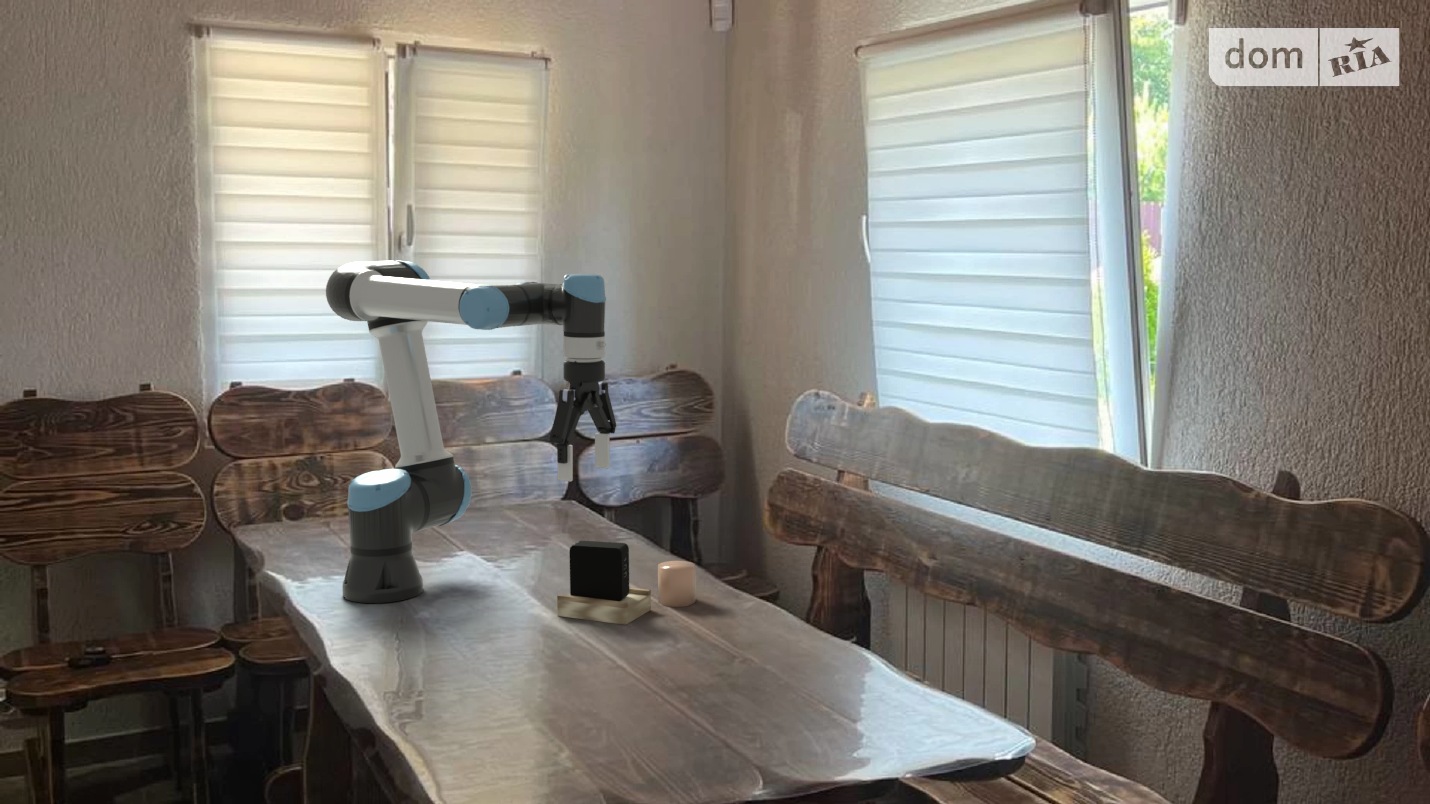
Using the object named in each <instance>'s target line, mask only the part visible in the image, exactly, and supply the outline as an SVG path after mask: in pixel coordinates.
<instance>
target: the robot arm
mask: <svg viewBox="0 0 1430 804" xmlns="http://www.w3.org/2000/svg"><path fill="white" fill-rule="evenodd" d="M562 282H563V283H561V284H560V283H559V284H557V283H543V282H538V281H525V282H518V283H516V284H509V285H508V284H507V285H506V284H505V285H502V284H501V285H497V284H496V285H493V284H492V285H491V284H478V283H477V284H476V283H464V282H456V281H455V282H453V281H444V280H443V281H441V280H431V278H430V276H429V274H428V272H427V271H426V270H425V269H423V267H421V266H420V265H419V264H417V263H415V262H412V261H407V260H406V261H405V260H399V259H398V260H397V259H393V260H377V261H372V260H371V261H353V262H348V263H345V264H343V265H341V266H340V267H337V268H336V269H335V270H334V271H333V272H332V273H331V275H330V276H329V278H328V280H327V283H326V285H325V286H326V287H325V297H326V301H327V303H328V306H329V307H330V309H331V310H332V312H334V313H335V315H337V316H339V317H340V318H342V319H344V320H348V321H350V322H351V321H352V322H367V327H368V332H369V334H371V335H373V336H374V337H375V338H377V340H378V343H379V348H380V353H381V359H382V364H383V369H384V375H385V379H386V384H387V390H388V396H389V400H390V401H389V402H390V405H391V410H392V416H393V420H394V426H395V431H396V436H397V437H396V438H397V442H398V448H399V453H400V458H399V460H398V461H397V463H395V466H394V468H383V469H381V470H371V471H368V472H365V473H362V474H359V475H358V476H356V477H354V478H353V479H352V480H351V481H350V483H349V484H348V491H347V492H348V496H347V500H346V502H347V503H346V504H347V509H348V527H349V529H348V530H349V545H350V548H349V549H350V555H349V560H348V565H347V567H346V572H345V575H344V580H343V582H342V587H341V588H342V596H344V597H345V598H344V597H343V598H344V599H346V600H348V601H350V600H351V602H355V603H360V604H361V603H363V604H381V603H382V604H383V603H392V602H393V603H394V602H400V601H404V600H408V599H412V598H414V597H417V596H419V595H420V594H422V593H423V591H424V582H423V581H424V579H423V576H422V575H421V573H420V570H419V567H418V564H417V561H416V558H415V555H414V552H413V533H416V532H420V531H423V530H428V529H431V528H435V527H439V526H440V527H441V526H445V525H448V524H450V523H451V522H454V521H457V520H459V519H460V518H462V516H463V515H464V514H465V513H466V511H467V509H468V508H469V506H470V504H471V501H472V499H471V498H472V493H473V492H472V491H473V490H472V484H471V480H470V477H469V474H467V472H465V471H464V469H463V468H462V467H461V466H460V465H458V464H456V463H455V460H454V454H452V453H451V452H449V451H448V450H447V449H446V448H445V447H444V442H443V436H442V431H441V427H440V420H439V416H438V411H437V406H436V399H435V396H434V395H435V394H434V389H433V385H432V380H431V375H430V374H431V373H430V368H429V363H428V358H427V353H426V348H425V344H424V337H423V330H424V329H425V327H426V326H427V325H428V322H432V323H433V322H434V323H441V324H442V323H444V324H452V325H453V324H454V325H461V326H462V325H464V326H468V327H469V328H471V329H473V330H482V331H485V330H486V331H487V330H488V331H490V330H491V331H492V330H495V329H501V328H509V327H520V326H521V327H522V326H523V327H525V326H533V325H535V326H536V325H553V326H554V325H558V326H563V327H562V328H563V330H562V332H563V346H562V347H563V350H562V352H563V355H562V357H564V358H565V359H566V360H564V361H563V380H564V382H568V383H569V389H564V388H561V389H559V392H558V404H557V407H556V411H555V415H554V420H553V424H552V428H551V433H550V436H549V442H550V444H552V445H555V446H556V447H557V448H556V449H557V450H556V452H557V453H556V454H557V469H556V470H557V481H562V482H572V481H574V479H573V475H574V473H573V471H574V470H573V469H574V467H573V466H574V464H573V463H574V460H573V459H574V458H573V455H574V452H573V450H574V449H573V445H572V444H571V442H572V440H573V436H574V433H575V431H576V429H577V426H578V423H579V420H580V418H581V416H583V415H584V414H585V412H587V411H588V414H589V416H590V418H591V420H592V422H593V424H594V426H595V428H596V430H597V432H595V433H594V467H595V468H598V469H610V434H616V428H617V421H616V417H615V413H614V410H613V405H612V402H611V398H610V394H609V383H608V382H607V381H605V378H606V363H605V362H604V360H603V358H605V350H606V345H607V344H606V341H605V340H606V339H605V336H606V334H605V323H606V321H605V320H606V319H605V317H606V301H607V297H606V293H605V292H606V290H605V288H606V287H605V286H606V285H605V280H604V278H603V276H602V275H601V274H593V273H592V274H591V273H587V274H586V273H569V274H568V273H567V274H565V275H564V277H563V281H562Z"/></svg>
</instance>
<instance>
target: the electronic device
mask: <svg viewBox="0 0 1430 804" xmlns="http://www.w3.org/2000/svg"><path fill="white" fill-rule="evenodd" d="M629 548H630V547H629V545H628V544H627V543H625V542H615V541H614V542H613V541H612V542H610V541H596V540H595V541H594V540H580V541H576V542H574V543H571V546H570V547H569V552H568V553H569V594H570V595H571V596H579V597H587V598H595V599H603V600H611V601H621V600H623V599H624V598H625V597H626V596H627V595H628V594H629V587H630V549H629Z"/></svg>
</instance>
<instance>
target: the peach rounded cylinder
mask: <svg viewBox="0 0 1430 804" xmlns="http://www.w3.org/2000/svg"><path fill="white" fill-rule="evenodd" d="M657 582H658V583H657V585H658V587H657V588H658V589H657V593H658V595H657V597H658V604H660V605H661V606H666V607H673V608H675V607H676V608H677V607H678V608H679V607H687V606H691V605H693V604H695V603H696V564H695V563H693V562H691V561H687V560H686V561H685V560H670V561H669V560H667V561H663V562H661V563H658V565H657Z"/></svg>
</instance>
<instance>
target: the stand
mask: <svg viewBox="0 0 1430 804" xmlns="http://www.w3.org/2000/svg"><path fill="white" fill-rule="evenodd" d="M651 594H652V593H651V589H646V588H638V587H630V586H629V594H628V595H627V596H626V597H625V598H624V599H623V600H621V601H611V600H603V599H595V598H587V597H579V596H571V595H570V593H568V594H562V593H560V594H557V597H556V598H557V599H556V601H557V607H556V608H557V609H556V610H557V617H565V618H573V619H580V620H586V621H594V622H600V623H601V622H603V623H609V624H616V625H617V624H618V625H625V626H626V625H628V624H630V623H631V622H633V621H634V620H636V619H638V618H640V617H641V616H643V615H645V614H646V613H648V612H649V611H652V603H651V602H652V595H651Z"/></svg>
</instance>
